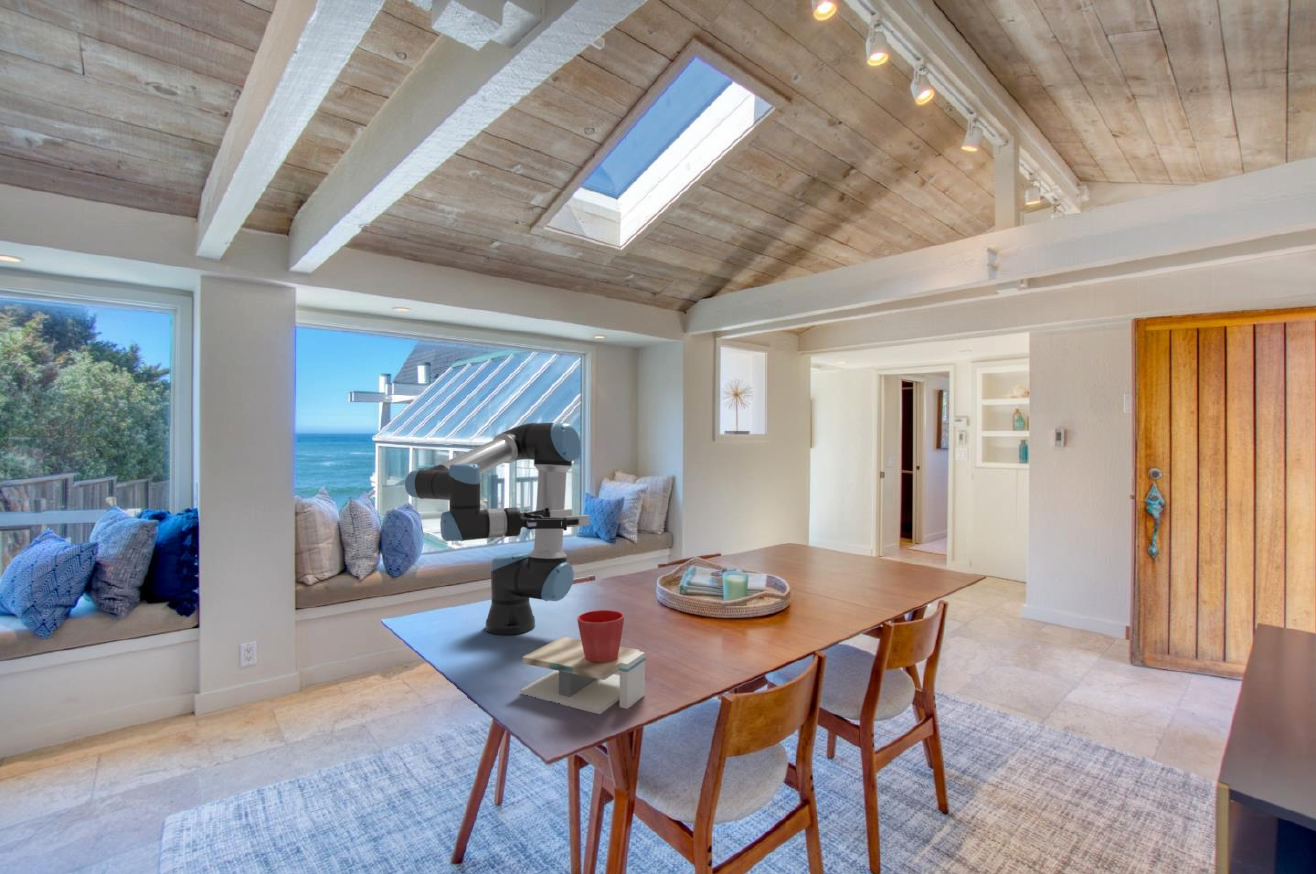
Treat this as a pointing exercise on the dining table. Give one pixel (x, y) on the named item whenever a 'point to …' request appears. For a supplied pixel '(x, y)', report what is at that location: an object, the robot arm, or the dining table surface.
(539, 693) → the stand
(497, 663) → the dining table surface
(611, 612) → the flower pot
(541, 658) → the plate
